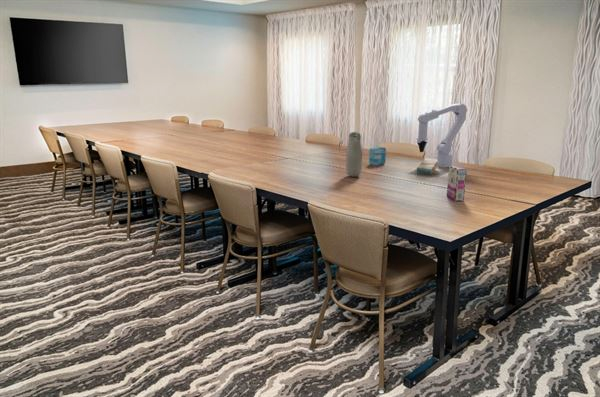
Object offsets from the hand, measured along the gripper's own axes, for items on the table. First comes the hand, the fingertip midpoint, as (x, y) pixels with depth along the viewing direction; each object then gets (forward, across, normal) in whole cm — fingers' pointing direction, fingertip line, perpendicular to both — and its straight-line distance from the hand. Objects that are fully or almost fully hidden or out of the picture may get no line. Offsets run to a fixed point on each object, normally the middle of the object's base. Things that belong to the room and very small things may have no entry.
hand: (421, 152), depth 319 cm
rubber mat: (+10, +18, +12) cm, 24 cm away
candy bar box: (+11, +72, +46) cm, 86 cm away
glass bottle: (+11, +53, -24) cm, 59 cm away
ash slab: (+5, +15, +12) cm, 20 cm away
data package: (+11, +7, -30) cm, 32 cm away
